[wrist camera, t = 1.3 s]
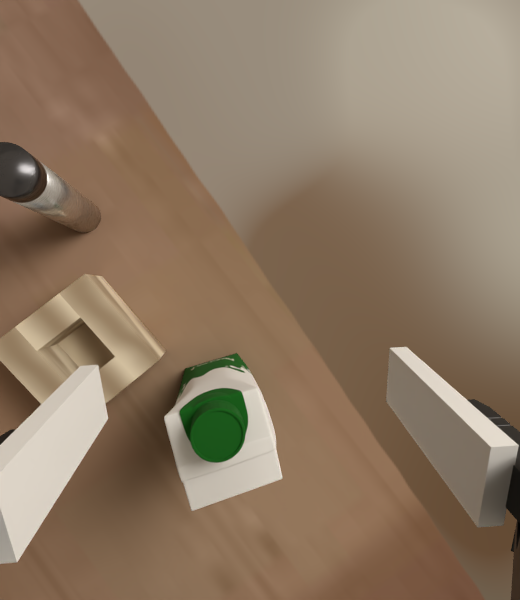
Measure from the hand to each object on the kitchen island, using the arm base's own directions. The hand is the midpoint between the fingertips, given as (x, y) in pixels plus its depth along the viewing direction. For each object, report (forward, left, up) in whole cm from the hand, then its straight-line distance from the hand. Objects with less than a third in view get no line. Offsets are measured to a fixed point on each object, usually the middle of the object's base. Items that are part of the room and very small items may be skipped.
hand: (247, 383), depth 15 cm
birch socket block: (-14, +8, -29) cm, 33 cm away
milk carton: (-6, -6, -29) cm, 30 cm away
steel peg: (-5, +21, -29) cm, 36 cm away
